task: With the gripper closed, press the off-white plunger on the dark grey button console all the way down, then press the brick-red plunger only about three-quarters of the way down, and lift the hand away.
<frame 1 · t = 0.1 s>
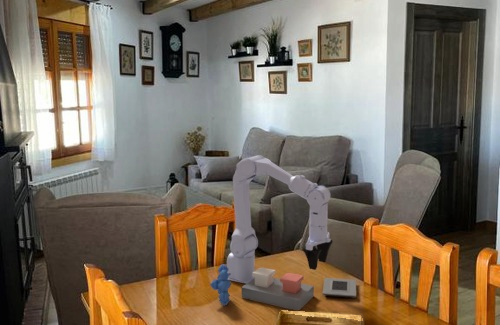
hand: (317, 265, 161), 10 cm above the table, tool pointing down, fingers open, 7 cm apart
electrical outlet: (339, 292, 165), on the table
red plunger: (291, 284, 158), point 5 cm above the table, slide at 0.0 cm
white plunger: (263, 279, 162), point 5 cm above the table, slide at 0.0 cm
grapes: (221, 302, 157), on the table
console: (277, 296, 161), on the table
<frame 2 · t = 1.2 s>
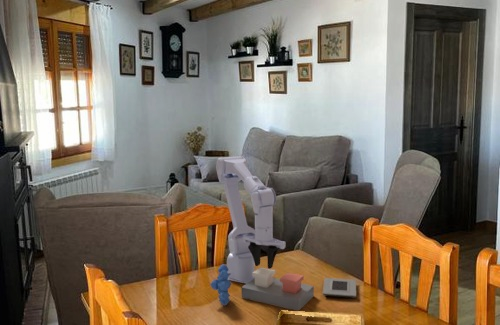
hand: (263, 266, 162), 9 cm above the table, tool pointing down, fingers open, 4 cm apart
nothing on the table moved.
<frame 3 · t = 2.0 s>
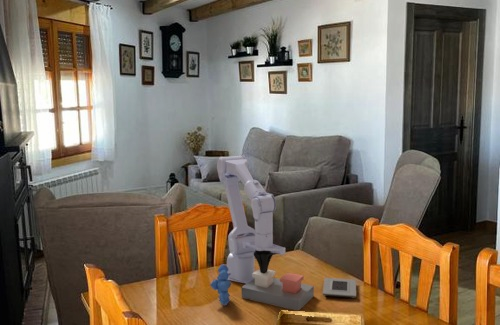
hand: (263, 272, 162), 7 cm above the table, tool pointing down, fingers closed, pressing on white plunger
white plunger: (263, 279, 162), point 5 cm above the table, slide at 0.2 cm, touching gripper
everything else where it was.
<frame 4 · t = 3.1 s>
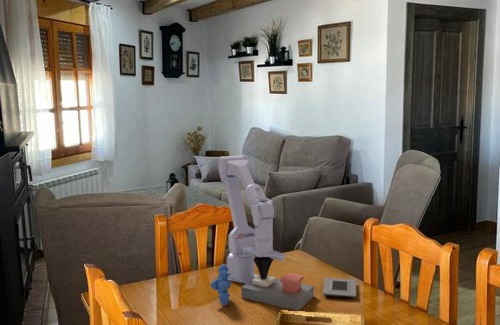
hand: (263, 278, 162), 5 cm above the table, tool pointing down, fingers closed
white plunger: (263, 286, 163), point 3 cm above the table, slide at 2.4 cm
everything else where it was.
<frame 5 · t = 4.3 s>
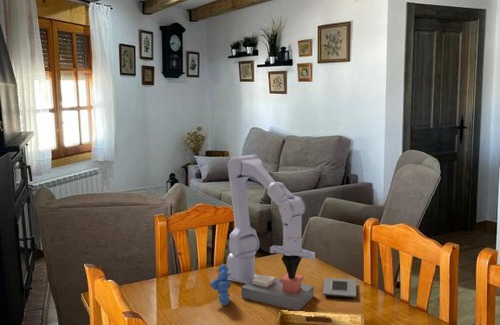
hand: (291, 277, 157), 8 cm above the table, tool pointing down, fingers closed, pressing on red plunger
red plunger: (291, 285, 158), point 5 cm above the table, slide at 0.1 cm, touching gripper
everything else where it was.
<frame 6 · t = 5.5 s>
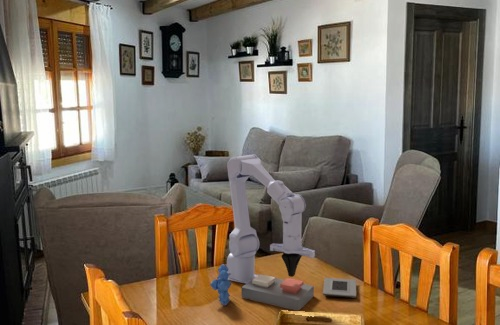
hand: (291, 275, 157), 8 cm above the table, tool pointing down, fingers closed
red plunger: (291, 290, 158), point 3 cm above the table, slide at 1.8 cm
everything else where it was.
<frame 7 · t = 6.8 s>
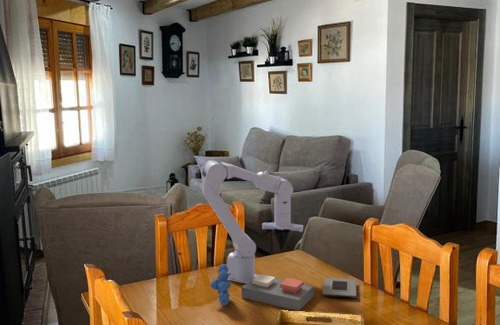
hand: (282, 249, 178), 9 cm above the table, tool pointing down, fingers closed
nothing on the table moved.
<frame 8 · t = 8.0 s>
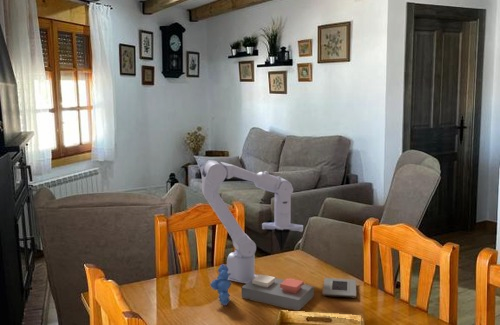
hand: (282, 249, 178), 9 cm above the table, tool pointing down, fingers closed
nothing on the table moved.
at the end: white plunger slide at 2.4 cm; red plunger slide at 1.8 cm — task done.
